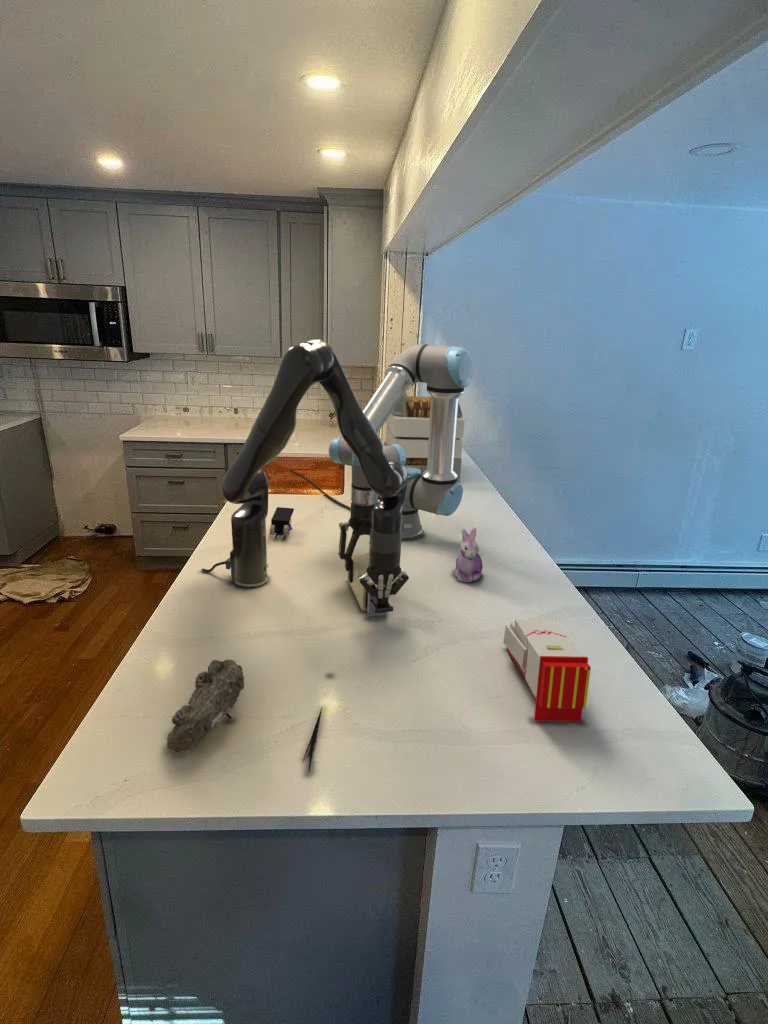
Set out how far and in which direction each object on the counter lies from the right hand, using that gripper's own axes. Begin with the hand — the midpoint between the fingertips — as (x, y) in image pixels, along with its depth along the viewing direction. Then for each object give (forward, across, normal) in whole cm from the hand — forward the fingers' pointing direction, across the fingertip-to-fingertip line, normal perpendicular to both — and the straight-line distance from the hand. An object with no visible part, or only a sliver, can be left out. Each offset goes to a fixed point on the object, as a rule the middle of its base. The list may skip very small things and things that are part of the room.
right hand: (362, 579), depth 160 cm
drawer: (+2, 0, -12) cm, 12 cm away
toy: (+2, +27, -50) cm, 57 cm away
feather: (+3, -21, -52) cm, 56 cm away
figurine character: (+2, -18, +43) cm, 47 cm away
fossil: (+3, -41, -46) cm, 62 cm away
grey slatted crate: (+2, +56, +110) cm, 123 cm away
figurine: (+2, +33, 0) cm, 33 cm away
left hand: (-2, 0, -20) cm, 20 cm away
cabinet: (+2, 0, -5) cm, 5 cm away
